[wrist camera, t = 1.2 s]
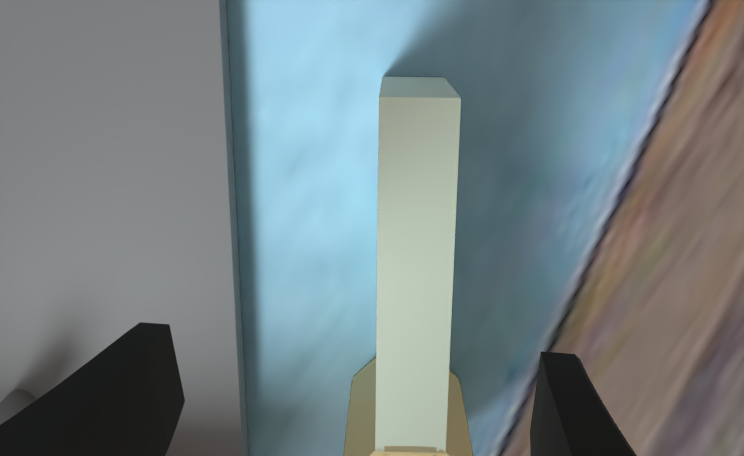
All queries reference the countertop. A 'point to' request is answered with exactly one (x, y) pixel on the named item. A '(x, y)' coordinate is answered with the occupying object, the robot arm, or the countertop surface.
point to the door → (413, 281)
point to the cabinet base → (120, 201)
